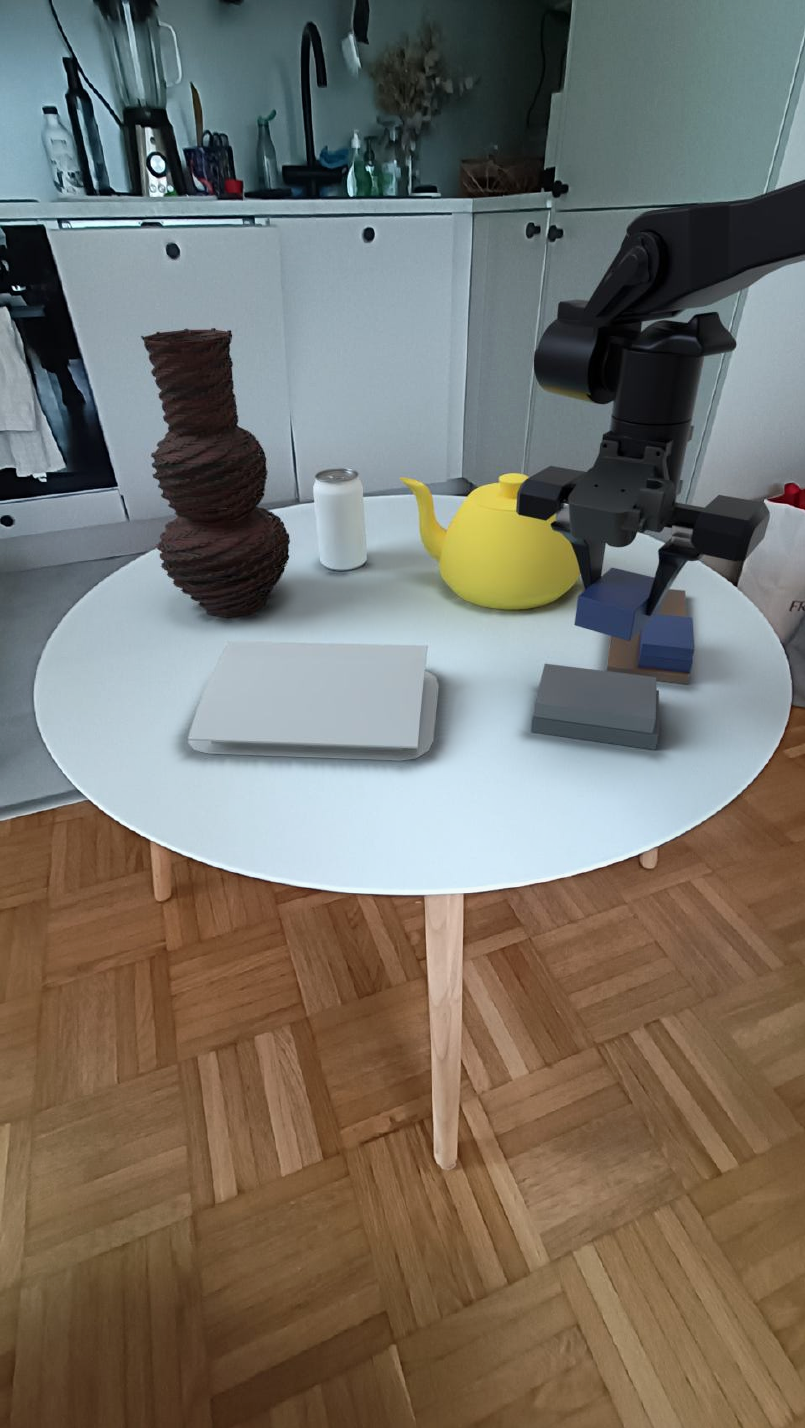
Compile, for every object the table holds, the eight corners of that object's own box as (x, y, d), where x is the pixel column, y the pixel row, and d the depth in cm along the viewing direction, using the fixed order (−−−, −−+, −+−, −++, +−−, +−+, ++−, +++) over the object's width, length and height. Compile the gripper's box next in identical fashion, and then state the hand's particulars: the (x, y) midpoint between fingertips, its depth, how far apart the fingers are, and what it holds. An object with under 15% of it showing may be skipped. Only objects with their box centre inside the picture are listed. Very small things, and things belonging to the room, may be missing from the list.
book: (227, 664, 77) (221, 632, 75) (440, 670, 75) (440, 637, 73) (178, 753, 65) (168, 718, 63) (431, 762, 63) (431, 726, 61)
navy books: (639, 634, 78) (643, 611, 77) (688, 639, 77) (693, 616, 75) (637, 667, 73) (642, 643, 71) (689, 673, 71) (695, 649, 70)
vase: (146, 624, 86) (72, 344, 68) (211, 572, 98) (163, 323, 80) (262, 640, 82) (214, 347, 64) (315, 584, 94) (287, 324, 76)
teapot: (390, 609, 87) (385, 498, 79) (414, 552, 101) (412, 452, 93) (602, 621, 83) (619, 504, 75) (596, 559, 97) (610, 456, 89)
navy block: (607, 595, 66) (612, 566, 64) (660, 609, 63) (666, 580, 62) (573, 625, 61) (577, 595, 60) (629, 641, 59) (635, 611, 57)
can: (356, 549, 103) (350, 464, 96) (374, 565, 98) (369, 477, 91) (313, 558, 100) (304, 472, 93) (330, 575, 96) (322, 485, 89)
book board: (683, 597, 87) (685, 590, 87) (687, 684, 72) (690, 676, 71) (616, 591, 89) (617, 583, 89) (605, 674, 74) (607, 666, 73)
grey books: (656, 703, 69) (662, 675, 67) (655, 750, 63) (662, 721, 61) (541, 688, 72) (544, 661, 70) (530, 732, 66) (533, 703, 64)
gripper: (485, 423, 52) (478, 614, 61) (752, 462, 43) (697, 681, 52) (555, 394, 60) (539, 569, 69) (797, 422, 50) (742, 620, 59)
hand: (619, 606), depth 62 cm, fingers closed on navy block, 5 cm apart
